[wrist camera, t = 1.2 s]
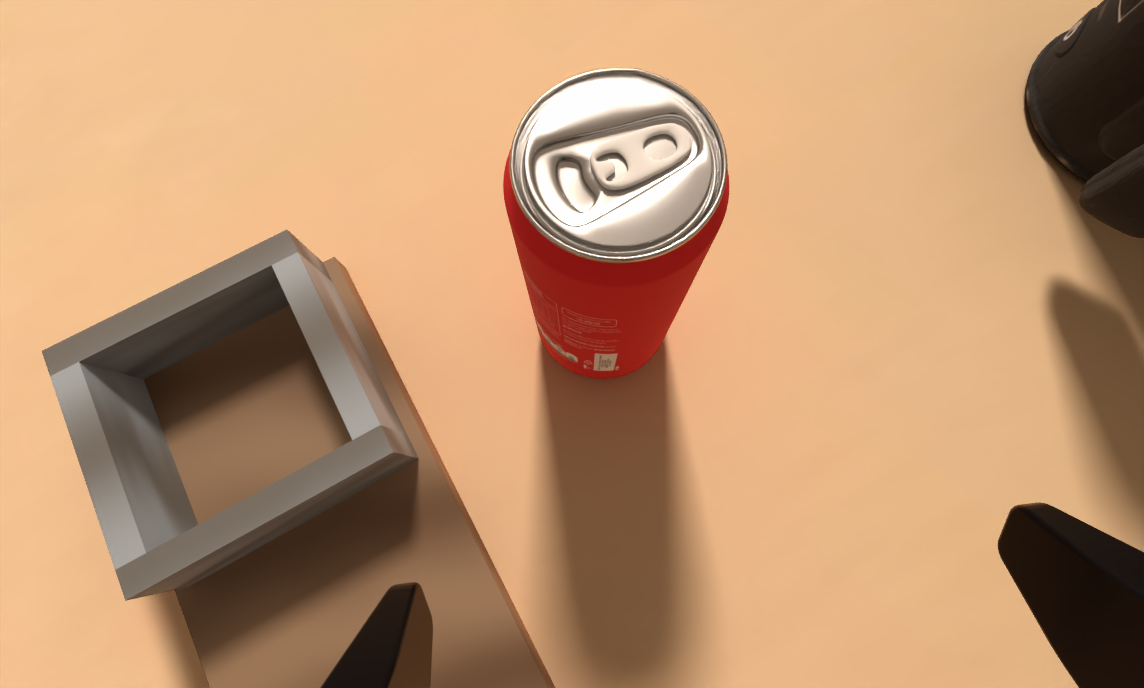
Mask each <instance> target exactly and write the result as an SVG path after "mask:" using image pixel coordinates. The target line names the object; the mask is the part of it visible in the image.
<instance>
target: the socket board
mask: <svg viewBox="0 0 1144 688" xmlns="http://www.w3.org/2000/svg"><path fill="white" fill-rule="evenodd" d="M42 353H43V356H44V359H45V362H46V365H47V368H48V371H49V374H50V377H51V380H52V383H53V386H54V389H55V392H56V395H57V398H58V401H59V404H60V407H61V410H62V413H63V416H64V419H65V422H66V425H67V428H68V431H69V434H70V437H71V440H72V443H73V446H74V449H75V452H76V455H77V457H78V460H79V463H80V466H81V469H82V472H83V475H84V478H85V481H86V484H87V487H88V490H89V493H90V496H91V499H92V502H93V505H94V508H95V511H96V514H97V517H98V520H99V523H100V526H101V529H102V532H103V535H104V538H105V541H106V544H107V547H108V550H109V553H110V556H111V559H112V562H113V565H114V568H115V571H116V574H117V577H118V580H119V583H120V586H121V589H122V591H123V594H124V597H125V600H130V599H135V598H139V597H144V596H148V595H153V594H157V593H162V592H166V591H171V590H175V592H176V594H177V597H178V600H179V603H180V606H181V608H182V611H183V614H184V617H185V620H186V622H187V625H188V628H189V631H190V634H191V636H192V639H193V642H194V645H195V647H196V650H197V653H198V656H199V659H200V661H201V664H202V667H203V670H204V673H205V675H206V678H207V681H208V684H209V687H210V688H320V687H321V686H322V684H323V683H324V681H325V680H326V679H327V677H328V676H329V674H330V673H331V671H332V670H333V668H334V667H335V666H336V664H337V663H338V661H339V660H340V658H341V657H342V655H343V654H344V652H345V651H346V650H347V648H348V647H349V645H350V644H351V642H352V641H353V639H354V638H355V637H356V635H357V634H358V632H359V631H360V629H361V628H362V626H363V625H364V624H365V622H366V621H367V619H368V618H369V616H370V615H371V613H372V612H373V610H374V609H375V608H376V606H377V605H378V603H379V602H380V600H381V599H382V597H383V596H384V595H385V593H386V592H387V590H388V589H389V588H390V587H391V586H393V585H396V584H402V583H410V582H417V583H419V584H420V585H421V587H422V589H423V592H424V595H425V598H426V601H427V604H428V606H429V609H430V612H431V615H432V620H433V644H432V665H431V686H430V688H555V686H554V684H553V682H552V680H551V678H550V676H549V674H548V672H547V670H546V668H545V666H544V664H543V662H542V660H541V658H540V656H539V654H538V652H537V650H536V648H535V646H534V644H533V642H532V640H531V638H530V636H529V634H528V632H527V630H526V628H525V626H524V624H523V622H522V620H521V618H520V616H519V614H518V612H517V610H516V608H515V606H514V604H513V602H512V600H511V598H510V596H509V594H508V592H507V590H506V588H505V586H504V584H503V582H502V580H501V578H500V576H499V574H498V572H497V570H496V568H495V566H494V564H493V562H492V560H491V558H490V556H489V554H488V552H487V550H486V548H485V546H484V544H483V542H482V540H481V538H480V536H479V534H478V532H477V530H476V528H475V526H474V524H473V522H472V520H471V518H470V516H469V514H468V512H467V510H466V508H465V506H464V504H463V502H462V500H461V498H460V496H459V494H458V492H457V490H456V488H455V486H454V484H453V482H452V480H451V478H450V476H449V474H448V472H447V470H446V468H445V466H444V464H443V462H442V460H441V458H440V456H439V454H438V452H437V450H436V448H435V446H434V444H433V442H432V440H431V438H430V436H429V434H428V432H427V430H426V428H425V426H424V424H423V422H422V420H421V418H420V416H419V414H418V412H417V410H416V408H415V406H414V404H413V402H412V400H411V398H410V396H409V394H408V392H407V390H406V388H405V386H404V384H403V382H402V380H401V378H400V376H399V374H398V372H397V370H396V368H395V366H394V364H393V362H392V360H391V358H390V356H389V354H388V352H387V350H386V348H385V346H384V344H383V342H382V340H381V338H380V336H379V334H378V332H377V330H376V328H375V326H374V324H373V322H372V320H371V318H370V316H369V314H368V312H367V310H366V307H365V305H364V303H363V301H362V299H361V297H360V295H359V293H358V291H357V289H356V287H355V285H354V283H353V281H352V279H351V277H350V275H349V273H348V271H347V269H346V268H345V267H344V266H343V265H342V264H341V263H340V262H339V261H338V260H337V259H336V258H335V257H333V258H331V259H329V260H327V261H325V262H322V261H321V260H320V259H319V258H318V257H316V256H315V255H314V254H313V253H312V252H311V251H310V250H309V249H308V248H307V247H306V246H304V245H303V244H302V243H301V242H300V241H299V240H298V239H297V238H296V237H295V236H293V235H292V234H291V233H290V232H289V231H288V230H285V231H283V232H281V233H279V234H277V235H275V236H273V237H271V238H269V239H267V240H265V241H263V242H261V243H259V244H257V245H255V246H253V247H251V248H249V249H247V250H245V251H243V252H241V253H239V254H237V255H235V256H233V257H231V258H229V259H227V260H225V261H223V262H221V263H218V264H216V265H214V266H212V267H210V268H208V269H206V270H204V271H202V272H200V273H198V274H196V275H194V276H192V277H190V278H188V279H186V280H184V281H182V282H180V283H178V284H176V285H174V286H172V287H170V288H168V289H166V290H164V291H162V292H160V293H158V294H156V295H154V296H152V297H150V298H148V299H146V300H144V301H142V302H140V303H138V304H136V305H134V306H132V307H130V308H128V309H126V310H124V311H122V312H120V313H118V314H116V315H114V316H112V317H110V318H108V319H106V320H104V321H102V322H99V323H97V324H95V325H93V326H91V327H89V328H87V329H85V330H83V331H81V332H79V333H77V334H75V335H73V336H71V337H69V338H67V339H65V340H63V341H61V342H59V343H57V344H55V345H53V346H51V347H49V348H47V349H45V350H43V351H42Z"/></svg>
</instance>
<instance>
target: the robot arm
mask: <svg viewBox="0 0 1144 688" xmlns="http://www.w3.org/2000/svg"><path fill="white" fill-rule="evenodd" d="M998 550H999V554H1000V557H1001V559H1002V561H1003V562H1004V564H1005V566H1006V568H1007V569H1008V571H1009V573H1010V575H1011V576H1012V578H1013V580H1014V582H1015V583H1016V585H1017V587H1018V589H1019V590H1020V592H1021V594H1022V596H1023V597H1024V599H1025V601H1026V603H1027V604H1028V606H1029V608H1030V610H1031V611H1032V613H1033V615H1034V617H1035V618H1036V620H1037V622H1038V624H1039V625H1040V627H1041V629H1042V631H1043V632H1044V634H1045V636H1046V638H1047V639H1048V641H1049V643H1050V644H1051V646H1052V648H1053V649H1054V651H1055V653H1056V654H1057V656H1058V657H1059V659H1060V660H1061V662H1062V663H1063V665H1064V666H1065V668H1066V669H1067V671H1068V672H1069V674H1070V675H1071V677H1072V678H1073V680H1074V681H1075V683H1076V684H1077V685H1078V687H1079V688H1144V552H1142V551H1140V550H1138V549H1136V548H1134V547H1132V546H1130V545H1128V544H1126V543H1124V542H1122V541H1120V540H1118V539H1116V538H1114V537H1112V536H1110V535H1108V534H1106V533H1104V532H1102V531H1100V530H1098V529H1096V528H1094V527H1092V526H1090V525H1088V524H1086V523H1084V522H1082V521H1080V520H1078V519H1077V518H1075V517H1073V516H1071V515H1069V514H1067V513H1065V512H1063V511H1061V510H1059V509H1057V508H1055V507H1053V506H1050V505H1048V504H1045V503H1030V504H1022V505H1017V506H1014V507H1013V508H1012V509H1011V510H1010V512H1009V514H1008V517H1007V519H1006V522H1005V525H1004V527H1003V530H1002V532H1001V535H1000V537H999V540H998ZM432 644H433V620H432V615H431V612H430V609H429V606H428V604H427V601H426V598H425V595H424V592H423V589H422V587H421V585H420V584H419V583H417V582H410V583H402V584H396V585H393V586H391V587H390V588H389V589H388V590H387V592H386V593H385V595H384V596H383V597H382V599H381V600H380V602H379V603H378V605H377V606H376V608H375V609H374V610H373V612H372V613H371V615H370V616H369V618H368V619H367V621H366V622H365V624H364V625H363V626H362V628H361V629H360V631H359V632H358V634H357V635H356V637H355V638H354V639H353V641H352V642H351V644H350V645H349V647H348V648H347V650H346V651H345V652H344V654H343V655H342V657H341V658H340V660H339V661H338V663H337V664H336V666H335V667H334V668H333V670H332V671H331V673H330V674H329V676H328V677H327V679H326V680H325V681H324V683H323V684H322V686H321V687H320V688H430V686H431V665H432Z"/></svg>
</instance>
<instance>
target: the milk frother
mask: <svg viewBox="0 0 1144 688" xmlns="http://www.w3.org/2000/svg"><path fill="white" fill-rule="evenodd" d="M1026 91H1027V106H1028V109H1029V115H1030V117H1031V120H1032V123H1033V126H1034V128H1035V129H1036V131H1037V133H1038V135H1039V136H1040V138H1041V139H1042V141H1043V142H1044V144H1045V145H1046V146H1047V148H1048V149H1049V150H1050V151H1051V152H1052V153H1053V155H1054V156H1055V157H1056V158H1057V159H1058V160H1059V161H1060V162H1061V163H1063V164H1064V165H1065V166H1066V167H1067V168H1068V169H1069V170H1070V171H1072V172H1073V173H1074V174H1076V175H1078V176H1080V177H1082V178H1084V179H1085V180H1086V181H1087V183H1086V184H1085V185H1084V186H1083V188H1082V190H1081V193H1082V194H1081V197H1080V200H1079V202H1080V204H1081V207H1082V208H1083V209H1084V210H1085V212H1087V213H1089V214H1090V215H1092V216H1093V217H1095V218H1097V219H1098V220H1100V221H1102V222H1103V223H1105V224H1107V225H1109V226H1111V227H1113V228H1115V229H1116V230H1118V231H1120V232H1122V233H1125V234H1127V235H1130V236H1133V237H1138V238H1144V0H1104V1H1103V2H1101V3H1100V4H1099V5H1098V6H1097V7H1096V8H1092V9H1091V10H1090V11H1089V12H1088V13H1087V14H1086V15H1085V16H1084V17H1082V18H1081V19H1080V20H1079V21H1078V22H1077V23H1076V24H1075V25H1074V26H1073V27H1072V28H1071V29H1070V30H1068V31H1066V32H1064V33H1062V34H1061V35H1059V36H1058V37H1056V38H1055V39H1054V40H1052V41H1051V42H1050V43H1049V44H1048V45H1047V46H1046V47H1045V48H1044V49H1043V50H1042V51H1041V53H1040V54H1039V55H1038V57H1037V58H1036V60H1035V62H1034V63H1033V65H1032V68H1031V70H1030V73H1029V76H1028V80H1027V90H1026Z"/></svg>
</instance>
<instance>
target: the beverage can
mask: <svg viewBox="0 0 1144 688" xmlns="http://www.w3.org/2000/svg"><path fill="white" fill-rule="evenodd" d="M503 188H504V200H505V205H506V210H507V214H508V217H509V221H510V225H511V229H512V233H513V236H514V240H515V244H516V248H517V252H518V256H519V259H520V263H521V267H522V271H523V275H524V278H525V282H526V286H527V290H528V294H529V297H530V301H531V305H532V309H533V313H534V317H535V320H536V324H537V328H538V331H539V335H540V337H541V340H542V342H543V344H544V346H545V347H546V349H547V350H548V352H549V353H550V354H551V356H552V357H553V358H554V359H555V360H556V361H557V362H558V363H560V364H561V365H562V366H564V367H565V368H567V369H568V370H570V371H572V372H574V373H577V374H579V375H582V376H586V377H590V378H598V379H606V378H615V377H620V376H623V375H626V374H629V373H631V372H633V371H635V370H637V369H638V368H640V367H641V366H643V365H644V364H645V363H646V362H648V361H649V360H650V359H651V358H652V356H653V355H654V354H655V353H656V351H657V350H658V348H659V347H660V345H661V343H662V341H663V339H664V337H665V335H666V333H667V331H668V329H669V327H670V325H671V323H672V321H673V319H674V318H675V316H676V314H677V312H678V310H679V308H680V306H681V304H682V302H683V300H684V298H685V296H686V294H687V292H688V290H689V288H690V286H691V284H692V282H693V280H694V278H695V276H696V274H697V272H698V270H699V268H700V266H701V264H702V262H703V260H704V258H705V256H706V254H707V252H708V250H709V248H710V246H711V244H712V242H713V240H714V238H715V236H716V234H717V232H718V230H719V228H720V226H721V224H722V221H723V219H724V216H725V213H726V209H727V204H728V198H729V175H728V169H727V154H726V149H725V144H724V141H723V138H722V135H721V132H720V130H719V128H718V126H717V124H716V122H715V120H714V119H713V117H712V116H711V114H710V113H709V112H708V110H707V109H706V108H705V107H704V105H703V104H702V103H701V102H700V101H699V100H698V99H697V98H696V97H695V96H693V95H692V94H691V93H690V92H688V91H687V90H686V89H684V88H683V87H681V86H679V85H678V84H676V83H674V82H672V81H670V80H668V79H666V78H664V77H661V76H659V75H656V74H653V73H650V72H647V71H643V70H640V69H631V68H611V69H601V70H595V71H590V72H586V73H583V74H580V75H577V76H574V77H572V78H569V79H567V80H565V81H563V82H561V83H559V84H558V85H556V86H554V87H553V88H551V89H550V90H548V91H547V92H546V93H545V94H543V95H542V96H541V97H540V98H539V99H538V100H537V101H536V102H535V103H534V104H533V105H532V106H531V107H530V109H529V110H528V111H527V113H526V114H525V116H524V117H523V119H522V120H521V122H520V124H519V126H518V128H517V131H516V133H515V136H514V139H513V142H512V146H511V150H510V152H509V155H508V158H507V162H506V166H505V172H504V182H503Z"/></svg>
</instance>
